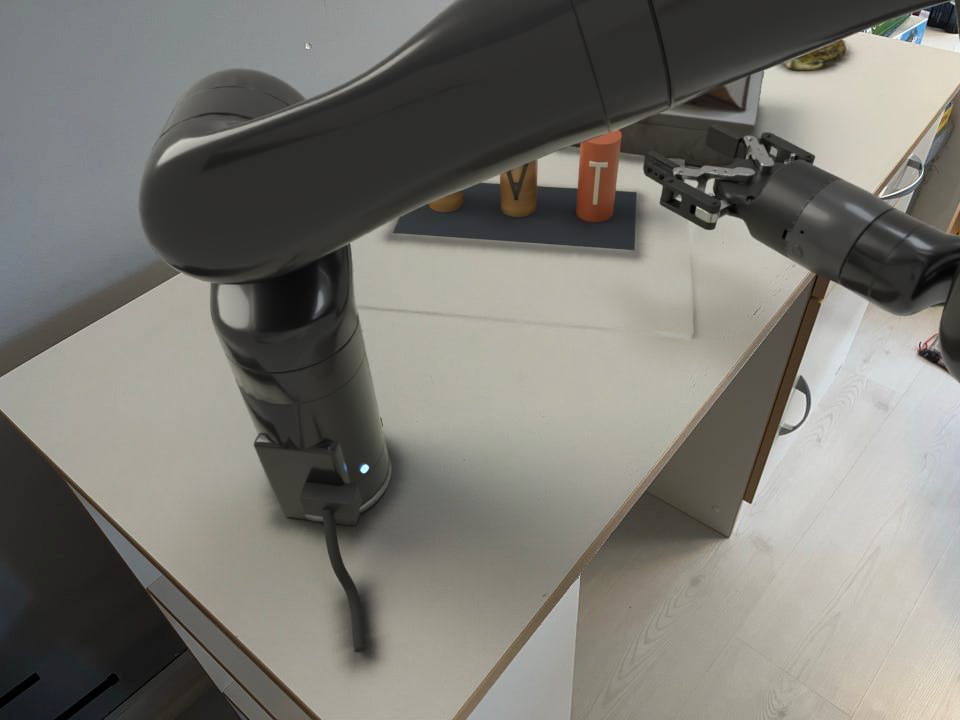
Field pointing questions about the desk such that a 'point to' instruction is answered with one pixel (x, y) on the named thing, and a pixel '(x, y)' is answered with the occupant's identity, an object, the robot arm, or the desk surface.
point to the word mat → (527, 220)
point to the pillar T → (598, 177)
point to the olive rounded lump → (819, 57)
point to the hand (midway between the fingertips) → (678, 147)
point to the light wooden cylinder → (519, 190)
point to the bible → (697, 124)
